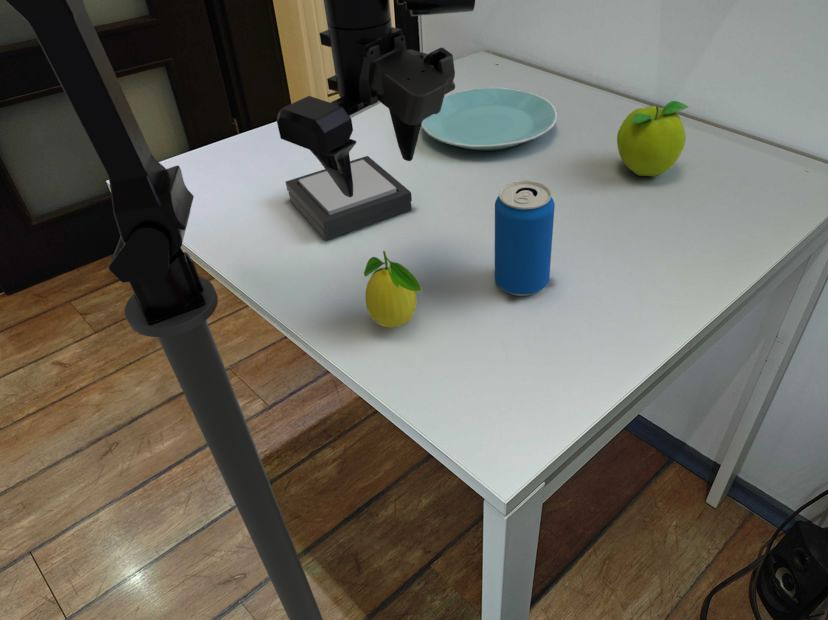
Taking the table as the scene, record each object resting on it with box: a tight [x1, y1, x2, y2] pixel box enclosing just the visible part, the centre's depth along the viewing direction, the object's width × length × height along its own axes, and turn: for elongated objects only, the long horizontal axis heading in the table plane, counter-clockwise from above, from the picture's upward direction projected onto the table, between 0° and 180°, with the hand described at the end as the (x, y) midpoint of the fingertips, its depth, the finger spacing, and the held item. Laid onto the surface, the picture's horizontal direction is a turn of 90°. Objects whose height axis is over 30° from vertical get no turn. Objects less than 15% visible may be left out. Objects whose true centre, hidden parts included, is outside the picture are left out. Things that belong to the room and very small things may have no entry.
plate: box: [421, 86, 558, 151], centre depth 108 cm, size 22×22×3 cm
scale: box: [285, 155, 413, 241], centre depth 92 cm, size 13×13×3 cm
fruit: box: [616, 100, 689, 177], centre depth 95 cm, size 9×9×10 cm
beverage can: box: [494, 180, 556, 297], centre depth 75 cm, size 6×6×12 cm
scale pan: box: [298, 160, 397, 216], centre depth 92 cm, size 10×10×2 cm
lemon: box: [363, 250, 423, 328], centre depth 71 cm, size 7×6×10 cm
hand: (379, 177), depth 70 cm, fingers open, 9 cm apart
